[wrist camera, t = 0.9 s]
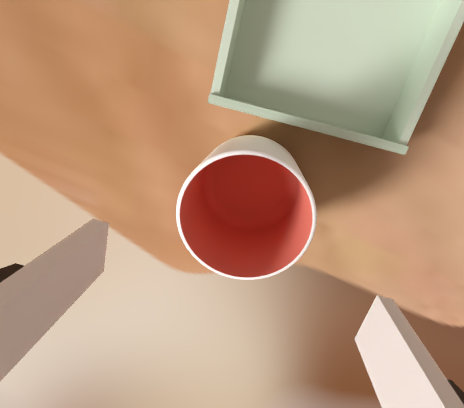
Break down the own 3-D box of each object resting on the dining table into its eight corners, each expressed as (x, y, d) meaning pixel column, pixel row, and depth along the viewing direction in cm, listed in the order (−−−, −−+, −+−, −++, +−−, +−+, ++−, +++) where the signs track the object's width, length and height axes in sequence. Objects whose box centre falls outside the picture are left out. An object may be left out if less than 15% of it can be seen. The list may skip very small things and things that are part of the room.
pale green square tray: (263, -122, 22) (264, -175, 18) (475, -68, 22) (527, -108, 17) (215, 102, 27) (207, 102, 23) (383, 146, 27) (405, 155, 23)
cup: (318, 161, 28) (345, 190, 19) (270, 241, 32) (274, 300, 22) (226, 115, 28) (208, 123, 18) (188, 202, 31) (156, 246, 22)
